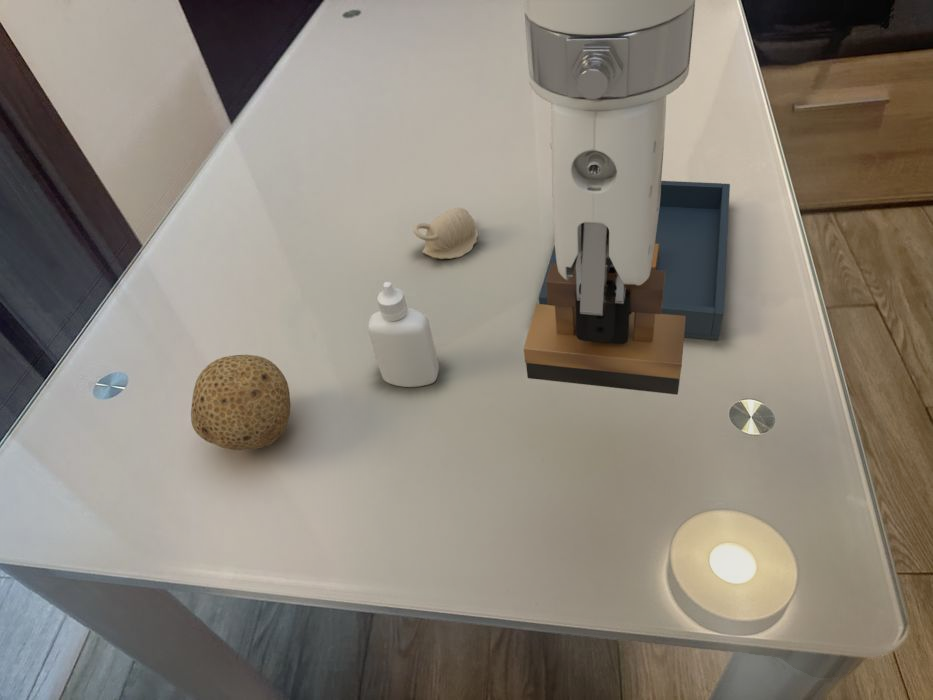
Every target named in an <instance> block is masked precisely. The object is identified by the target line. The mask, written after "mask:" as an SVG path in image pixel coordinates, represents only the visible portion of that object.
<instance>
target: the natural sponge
mask: <svg viewBox="0 0 933 700" xmlns="http://www.w3.org/2000/svg"><path fill="white" fill-rule="evenodd" d="M194 383H195V384H194V387H193V393H192V399H191V409H190V421H191V422H190V423H191V427H192V428H193V430H194V432H195V433H196V435H198V436H199V437H200V438H201V439H202V440H203V441H205V442H207V443H209V444H213V445H215V446H217V447H220V448H222V449H225V450H226V449H227V450H232V451H239V452H240V451H241V452H242V451H248V450H254V449H255V450H256V449H261V448H265V447H266V446H269V445H271V444H273V443H274V442H275V441H276V440H278V439H279V438H280V437H281V436H282V435H283V433H284V432H285V431H286V428H287V426H288V423H289V418H290V415H291V405H292V404H291V393H290V388H289V384H288V381H287V379H286V377H285V374H284V373H283V372H282V370H281V369H280V368H279V367H278V366H277V365H276V364H275V363H273V361H271V360H269V359H268V358H265V357H263V356H260V355H253V354H235V355H229V356H223V357H220V358H218V359H216V360H213V361H212V362H210V363H209V364H207V366H206V367H205V368H204V369H202V371H201V372H200V373H199V375H198V376H197V378H196V381H195V382H194Z"/></svg>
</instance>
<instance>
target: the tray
mask: <svg viewBox="0 0 933 700" xmlns="http://www.w3.org/2000/svg"><path fill="white" fill-rule="evenodd" d="M730 190H731V184H730V183H722V182H720V183H719V182H702V181H701V182H699V181H676V180H674V181H673V180H661V197H660V207H659V215H658V224H657V231H656V239H655V244H659V253H658V260H657V267H656V270H657V271H665V284H664V295H663V304H662V312H661V314H668V315H680V316H685V317H686V319H685V331H684V338H688V339H689V338H690V339H699V340H709V341H711V340H712V341H719V340H720V336H721V331H722V324H723V320H724V314H725V294H726V293H725V292H726V272H727V253H728V252H727V251H728V233H729V232H728V231H729V212H730V193H731V191H730ZM551 264H557V261H556V252H555V244H554V245H553V249H552V252H551V255H550V259H549V262H548V265H547V268H546V272H545V275H544V278H543V282H542V285H541V289H540V291H539V295H538V304H544V305H548V304H547V290H546V280H547V276H548V273H549V269H550V266H551Z"/></svg>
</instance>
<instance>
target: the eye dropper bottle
mask: <svg viewBox="0 0 933 700" xmlns="http://www.w3.org/2000/svg"><path fill="white" fill-rule="evenodd" d="M376 299H377V300H376V301H377V305H378V308H379V310H377V311H376V312H374V313H372V315H371V316H370V319H369V321H368V325H367V331H368V336H369V339H370V343H371V346H372V349H373V352H374V355H375V360H376V361H377V365H378V369H379V371H380V375H381V378H382V380H383V381H384V382H385V383H387V384H390V385H393V386H396V387H401V388H402V387H403V388H418V387H425V386H428V385H431V384H433V383H435V382H436V380H437V378H438V375H439V370H440V365H439V361H438V357H437V351H436V347H435V342H434V339H433V334H432V330H431V325H430V322H429V318H428V316H427V315H426V314H425V313H424V312H421V311H420V310H418V309H414V308H412V307H408V305H407V302H406V298H405V293H404V291H403V290H402V289H400V288H398V287H394V286H393V284H392V283H391V282H390V281H385V282H384V283H383V284H382V290H381V291H380V292H379V293H378V294H377V297H376Z"/></svg>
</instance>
